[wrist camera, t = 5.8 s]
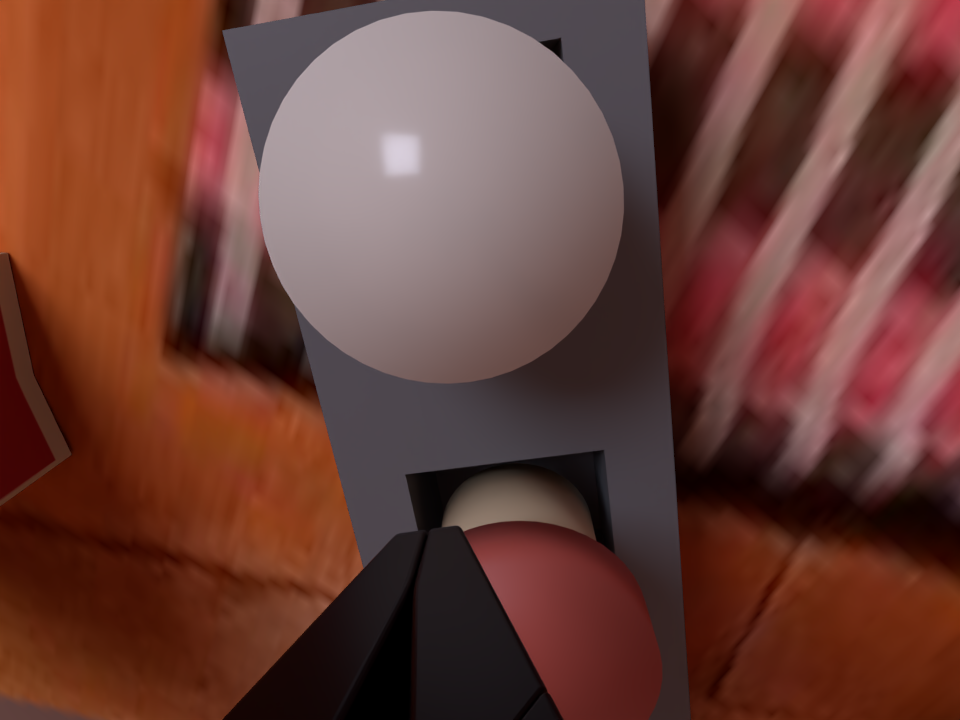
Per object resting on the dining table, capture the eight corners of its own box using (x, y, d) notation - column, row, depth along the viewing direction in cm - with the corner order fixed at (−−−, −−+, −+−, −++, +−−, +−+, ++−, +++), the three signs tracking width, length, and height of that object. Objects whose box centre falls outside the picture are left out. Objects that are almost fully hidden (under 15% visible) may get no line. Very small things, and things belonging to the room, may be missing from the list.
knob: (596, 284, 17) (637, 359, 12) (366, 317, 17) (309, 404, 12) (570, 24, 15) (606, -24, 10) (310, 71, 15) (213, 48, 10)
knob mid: (627, 600, 20) (670, 767, 15) (434, 620, 21) (412, 788, 16) (609, 425, 18) (652, 548, 13) (396, 452, 19) (356, 581, 14)
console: (666, 738, 28) (700, 865, 23) (455, 756, 28) (446, 883, 24) (605, -6, 18) (641, -47, 14) (291, 51, 19) (222, 30, 14)
